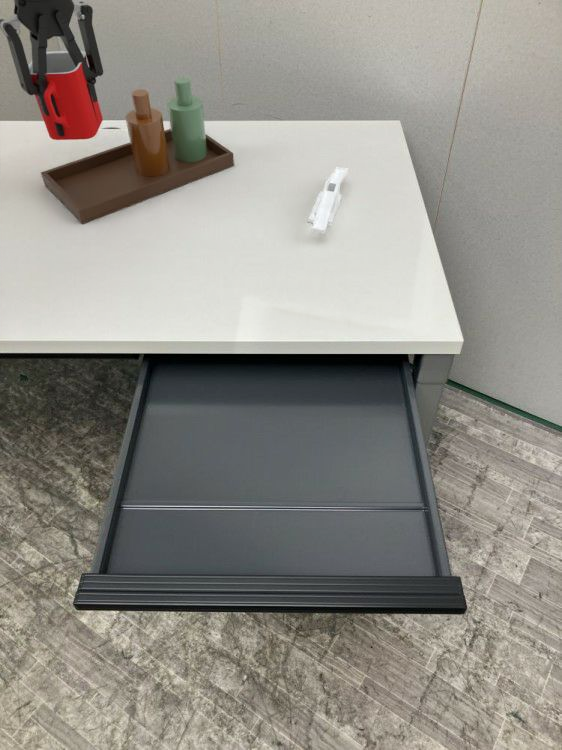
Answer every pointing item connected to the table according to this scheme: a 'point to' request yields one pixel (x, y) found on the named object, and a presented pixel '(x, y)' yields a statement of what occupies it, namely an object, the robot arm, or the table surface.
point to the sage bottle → (187, 123)
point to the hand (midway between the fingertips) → (75, 127)
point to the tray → (125, 178)
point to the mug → (68, 98)
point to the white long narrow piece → (327, 201)
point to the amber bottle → (147, 137)
